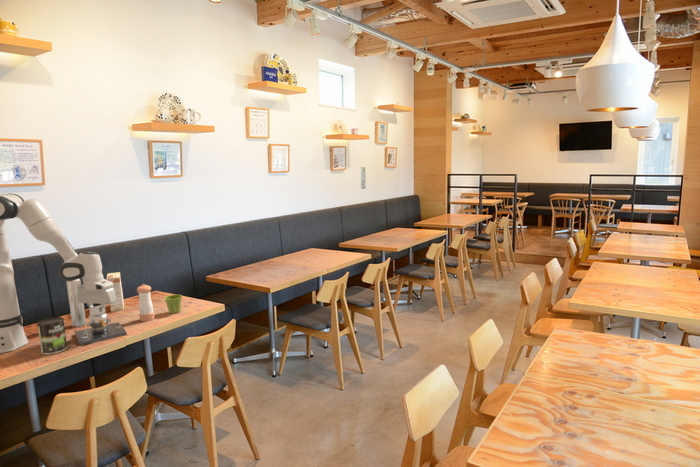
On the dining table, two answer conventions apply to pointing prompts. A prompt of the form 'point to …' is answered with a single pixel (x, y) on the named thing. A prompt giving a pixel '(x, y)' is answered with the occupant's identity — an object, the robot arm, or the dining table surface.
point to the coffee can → (52, 335)
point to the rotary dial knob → (97, 317)
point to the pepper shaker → (145, 303)
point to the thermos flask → (76, 304)
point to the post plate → (99, 333)
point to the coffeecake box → (116, 291)
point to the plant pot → (173, 303)
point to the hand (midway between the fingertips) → (98, 311)
